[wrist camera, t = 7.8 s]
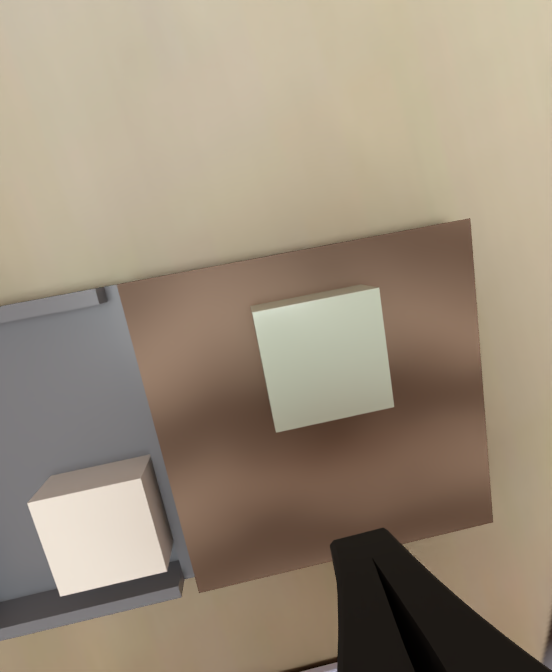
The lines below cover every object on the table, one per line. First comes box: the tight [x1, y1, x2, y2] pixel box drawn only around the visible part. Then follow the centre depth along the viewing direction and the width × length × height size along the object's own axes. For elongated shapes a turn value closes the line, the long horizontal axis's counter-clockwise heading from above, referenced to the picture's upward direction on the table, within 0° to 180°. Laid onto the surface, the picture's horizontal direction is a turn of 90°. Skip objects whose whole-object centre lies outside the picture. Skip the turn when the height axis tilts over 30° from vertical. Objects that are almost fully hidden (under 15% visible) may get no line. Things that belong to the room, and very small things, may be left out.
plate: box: [117, 218, 493, 593], centre depth 17 cm, size 14×14×2 cm
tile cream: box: [27, 454, 174, 597], centre depth 17 cm, size 4×4×2 cm
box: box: [0, 285, 195, 641], centre depth 16 cm, size 14×10×2 cm
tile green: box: [250, 284, 394, 433], centre depth 15 cm, size 4×4×2 cm
